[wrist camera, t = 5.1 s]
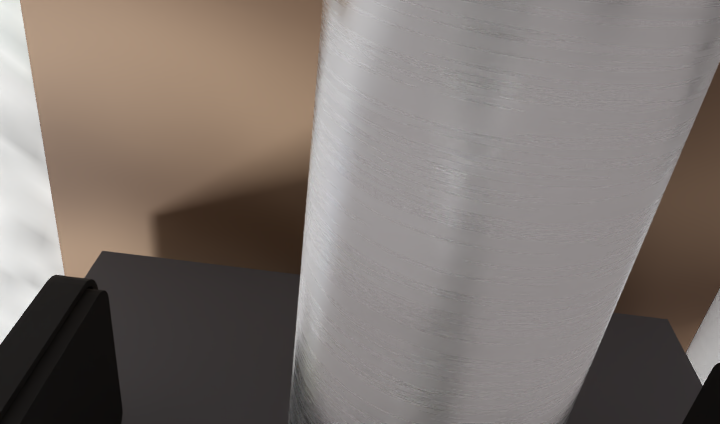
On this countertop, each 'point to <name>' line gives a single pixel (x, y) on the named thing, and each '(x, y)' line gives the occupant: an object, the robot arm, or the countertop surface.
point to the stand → (261, 144)
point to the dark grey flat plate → (277, 339)
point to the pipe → (483, 198)
